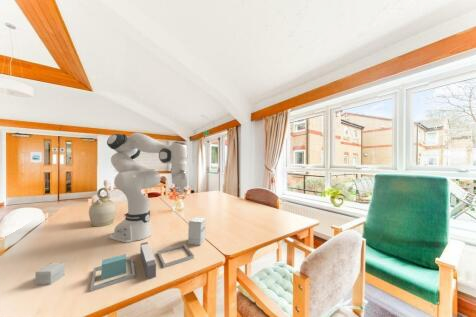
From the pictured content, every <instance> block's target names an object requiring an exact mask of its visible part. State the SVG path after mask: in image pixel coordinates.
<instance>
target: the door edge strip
mask: <svg viewBox="0 0 476 317" xmlns="http://www.w3.org/2000/svg"><path fill="white" fill-rule="evenodd" d="M139 247H140V249H139V251H140V253H139V255H140V257H141V262H142V266H143V267H144V268H143V270H144V272H145V276H146V279H147V280H149V279H153V278H156V277H157V262H156V258H155V255H154V254H153V250H152V248H151V246H150V244H149V242H148V241H146V242H141V243H140V246H139Z"/></svg>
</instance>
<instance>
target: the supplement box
mask: <svg viewBox="0 0 476 317" xmlns="http://www.w3.org/2000/svg"><path fill="white" fill-rule="evenodd" d="M206 219H207V218H206V217H196V216H194V217H192V218H191V219H189V221H188V234H187V236H188V238H187V239H188V240H187V242H188V243H187V244H188V245H195V246H201V245H202V243H204V241H205V240H206V225H207V224H206V221H207V220H206Z"/></svg>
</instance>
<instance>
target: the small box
mask: <svg viewBox="0 0 476 317" xmlns="http://www.w3.org/2000/svg"><path fill="white" fill-rule="evenodd" d="M65 265H66V264H65V262H52V263H51V262H50V263H49V264H47V265H45V266H44V267H41V268H40V269H39V270H36V271H35V280H34V281H35V285H38V286H40V285H41V286H42V285H43V286H44V285H46V286H47V285H52V284H54V283H55V282H56V281H57V280H60V278H62V277H64V276H65V274H66V273H65V268H66V267H65Z"/></svg>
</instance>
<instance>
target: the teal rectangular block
mask: <svg viewBox="0 0 476 317" xmlns="http://www.w3.org/2000/svg"><path fill="white" fill-rule="evenodd" d="M126 259H127V254H126V253H125V254H120V255H116V256H112V257H107V258H105V259H102V260H101V266H102V270H100V271H101V275H100V276H101V278H100V279H101V280H100V281H104V280H107V279H111V278H114V277H117V276H121V275H125V274H127V263H126Z"/></svg>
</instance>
